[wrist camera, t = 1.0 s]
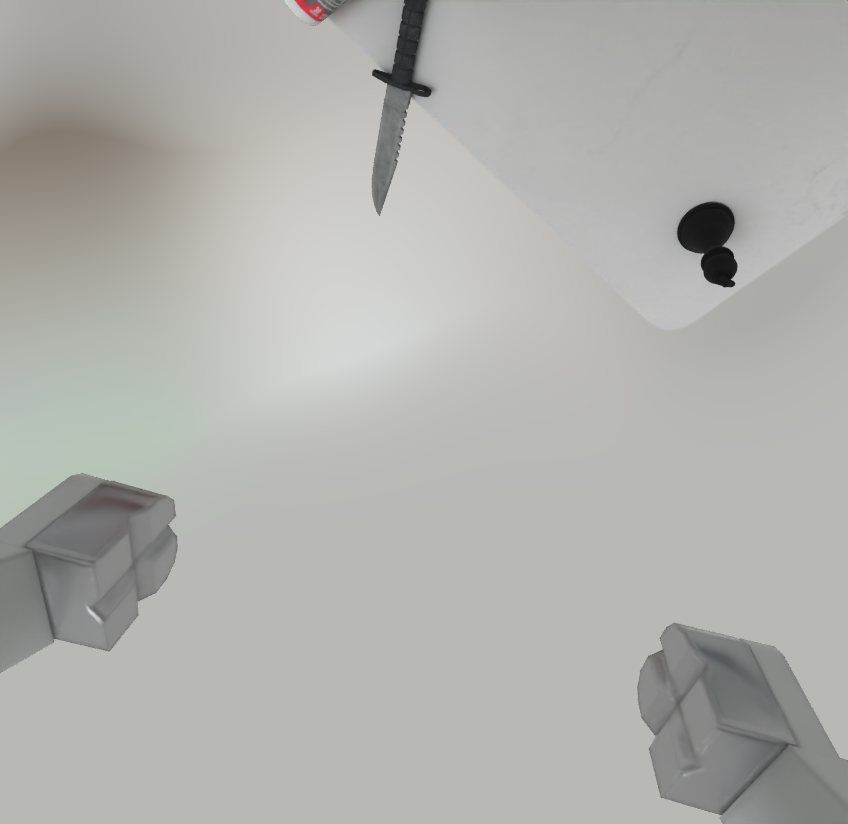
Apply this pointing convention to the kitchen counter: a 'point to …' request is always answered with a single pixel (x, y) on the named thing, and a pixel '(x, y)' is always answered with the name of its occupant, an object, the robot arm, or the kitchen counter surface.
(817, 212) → the kitchen counter surface
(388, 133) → the knife
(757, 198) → the kitchen counter surface
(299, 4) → the pill bottle
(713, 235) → the chess piece
